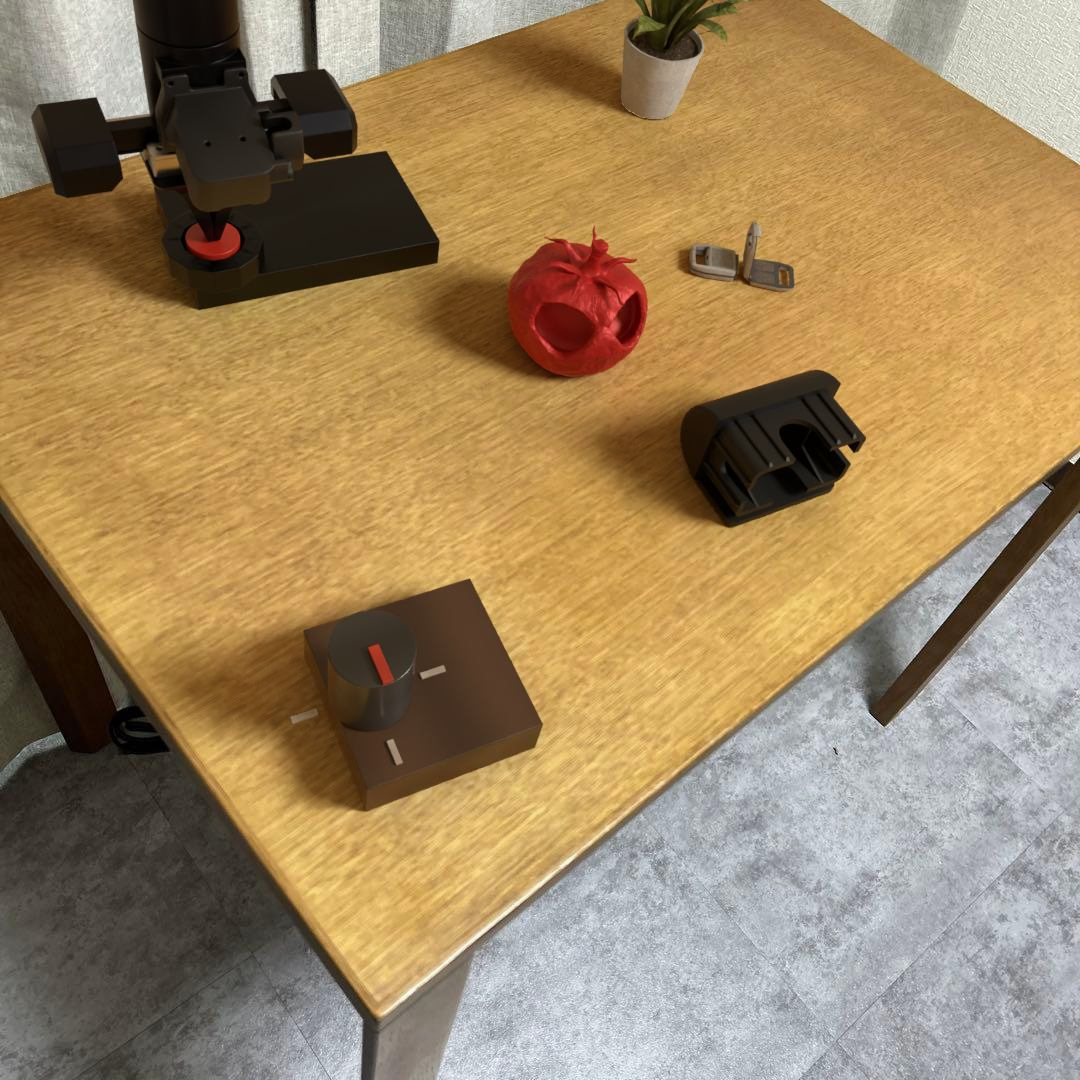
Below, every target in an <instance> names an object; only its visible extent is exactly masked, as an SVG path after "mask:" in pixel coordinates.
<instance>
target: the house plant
mask: <svg viewBox="0 0 1080 1080" xmlns="http://www.w3.org/2000/svg"><path fill="white" fill-rule="evenodd" d="M634 1H635V2H636V4H637V5H638V6H639V8H640V10H641V12H642V14H640V15H638V17H636V18H633V19H631V20H630V21H629V22H628V23H627V24H626V26H625V27H624V30H623V34H624V35H623V50H622V69H621V70H622V71H621V87H620V88H621V89H620V93H621V94H620V101H621V100H622V102H621V104H622V103H623V104H624V106H625V107H626V108H627V109H628V110H630V111H631V112H634V113H635V114H637V115H639V116H641V117H645V118H653V119H658V118H659V119H660V118H665V117H668V116H670V115H672V114H673V113H674V114H675V113H676V110H677V108H678V106H679V104H680V102H681V100H682V98H683V95H684V94H685V91H686V89H687V87H688V85H689V83H690V81H691V78H692V76H693V75H694V72H695V71H696V69H697V66H698V64H699V62H700V60H701V58H702V55H703V54H704V51H705V42H704V40H703V38H702V36H701V35H702V34H704V33H712V34H714V35H716V36H717V37H718V38H719V39H721V40H722V41H723V43H724V44H725V46H726V48H728V34H727V32H726V29H725V28H724V27H723V26H722V25H721V24H720V23H719V22H716V21H714V20H711V18H716V17H720V16H727V15H732V14H740V15H742V14H743V13H742V12H741V11H740V9H738V8H737V7H736V6H735V4H736V5H737V6H739V5H738V4H739V3H745V2H746V3H750V2H751V3H752V2H755V0H724V1H722V2H715V1H714V0H650V5H651V6H650V9H651V12H650V11H649V8H648V5H647V2H646V0H634ZM708 1H709V2H711V3H713V4H711V5H708V6H706V7H703V6H705V4H707V2H708ZM702 7H703V8H702ZM701 8H702V9H701ZM700 9H701V10H700ZM699 25H701V26H703V27H705V28H707V29H708V30H706V32H700V33H698V31H697V30H695V29H696V28H697V27H698V26H699ZM624 106H623V107H624ZM674 114H673V115H674ZM673 115H672V116H673Z"/></svg>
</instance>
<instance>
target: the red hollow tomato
mask: <svg viewBox="0 0 1080 1080" xmlns="http://www.w3.org/2000/svg"><path fill="white" fill-rule="evenodd" d="M597 237H598V236H597V233H596V225H593V228H592V240H591V244H590V246H589V245H586V244H584V243H580V242H569V241H568V240H567V239H565V238H550V237H547V236H544V238H545V239H547V240H548V241H550V242H548V243H545V244H543V245H541V246H540V247H539V248H537V250H536V251H535V253H533V254H532V255H531V256H530V257H528V258H526V259H525V260H524V261H523V262H522V263H521V264H520V266H519V268H517V270H515V272H514V273H513V275H512V276H511V278H510V280H509V283H508V287H507V292H506V295H507V298H506V302H507V303H506V304H507V312H508V318H509V323H510V328H511V330H512V333H513V335H514V338H515V339H516V341H517V342H518V344H519V345H520V347H521V348H522V349H523V350H524V351H525V352H526V354H527V355H528V356H529V357H530V358H531V359H532V360H533V362H534V363H536V364H537V365H539V366H540V368H543V369H544V370H547V371H548V372H550V373H554V374H556V375H560V376H561V375H562V376H564V377H568V378H569V377H586V376H593V375H596V374H599V373H604V372H606V371H608V370H611V369H612V368H615V366H616V365H617V364H619V363H620V362H621V361H623V360H624V359H626V358H627V357H628V356H629V355H630V354H631V353H632V351H633V350H634V349H636V346H637V345H638V343H639V340H640V338H641V337H642V335H643V333H644V330H645V327H646V321H647V314H648V308H649V307H648V305H649V300H648V296H647V290H646V287H645V285H644V283H643V281H642V279H641V278H640V277H638V275H636V274H635V273H634V272H633V270H631V268H629V267H627V265H625V264H634V263H636V262H637V261H638V258H634V259H632V258H627V257H625V256H618V257H614V256H612V255H611V254H609V253H608V250H609V246H610V245H609V243H608V242H607V241H605V240H604V239H603V238H598V239H597Z"/></svg>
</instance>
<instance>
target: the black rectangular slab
mask: <svg viewBox="0 0 1080 1080" xmlns="http://www.w3.org/2000/svg"><path fill="white" fill-rule="evenodd" d="M293 174H294V180H292V181H285V182H279V183H273V185H272V193H271V196H270V198H269V199H268V200H267V201H266V202H264V203H261V204H256V205H252V204H245V205H239V206H233V207H232V210H231V213H230V215H229V218H228V221H227V223H228V224H230V225H232V226H233V227H234V228H236V230H237V231H238V233H239V235H240V242H241V251H239V252H238V253H236V254H235V255H233V256H232V257H230V258H225V259H220V260H214V261H213V260H207V259H201V258H196V257H195V256H193V255H192V254H190V253H189V252H187V247H186V239H185V237H186V233H187V231H188V230H189V228H190V227H192V226H193V225H195V224H197V223H198V222H197V220H196V218H195V216H194V215H193V213H192V211H191V209H190V207H189V206H188V204H187V203H186V202H185V200H184V199H183V198H182V197H181V195H180V194H179V193H178V192H177V191H174V190H168V191H161V190H159V189H157V188H156V187H155V186H153V191H154V198H155V204H156V210H157V213H158V215H159V218H160V220H161V223H162V225H163V227H164V230H165V231H164V233H163V236H162V238H161V244H162V251H163V257H164V261H165V264H166V266H167V269H168V271H169V273H170V276H171V277H172V278H174V279H176V280H177V281H179V282H180V283H181V284H183V285H185V286H186V287H188V288H189V290H190V292H191V295H192V298H193V300H194V302H195V304H196V307H197V310H199V311H203V310H208V309H213V308H217V307H223V306H227V305H233V304H238V303H243V302H248V301H252V300H253V301H254V300H259V299H264V298H267V297H274V296H279V295H282V294H283V295H284V294H289V293H294V292H299V291H303V290H309V289H314V288H318V287H319V288H320V287H324V286H330V285H334V284H339V283H345V282H349V281H355V280H360V279H364V278H369V277H375V276H380V275H385V274H390V273H395V272H400V271H405V270H406V271H407V270H410V269H415V268H419V267H420V268H421V267H427V266H432V265H436V264H438V263H439V254H440V244H441V243H440V242H441V241H440V238H439V237H438V235H437V234H436V232H435V230H434V228H433V227H432V225H431V224H430V222H429V220H428V218H427V216H426V215H425V213H424V211H423V210H422V208H421V206H420V205H419V203H418V201H417V200H416V198H415V196H414V195H413V193H412V191H411V189H410V188H409V186H408V184H407V183H406V181H405V180H404V178H403V176H402V174H401V172H400V171H399V169H398V168H397V166H396V164H395V163H394V160H393V159H392V158H391V155H390V154H389V153H388V151H387V150H381V151H375V152H368V153H361V154H356V155H347V156H341V157H335V158H328V159H322V160H315V161H310V162H305V163H303V168H302V169H301V170H296V171H293Z"/></svg>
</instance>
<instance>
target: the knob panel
mask: <svg viewBox="0 0 1080 1080" xmlns="http://www.w3.org/2000/svg"><path fill="white" fill-rule="evenodd" d="M368 610H375V611H383V612H387V613H390V614H392V615H394V616H396V617H398V618H400V619H401V620H402V621H403V622H405V623H406V624H407V625H408V627H409V628H410V629H411V631H412V633H413V634H414V637H415V639H416V644H417V655H416V663H415V671H414V679H413V688H412V696H411V702H410V705H409V707H408V709H407V711H406V713H405V714H404V716H403V717H402V718H401V719H400V720H399V721H397V722H396V723H395V724H393V725H391V726H390V727H387V728H385V729H382V730H377V731H361V730H357V729H354V728H351V727H349V726H347V725H345V724H344V723H342V722H341V721H340V720H339V719H338V718H337V717H336V716H335V714H334V713H333V711H332V709H331V707H330V704H329V701H328V650H327V647H328V641H329V638H330V635H331V633H332V632H333V630H334V628H335V627H336V626H337V625H338V624H339V623H340V622H341V621H342V620H344V619H345V618H347V617H348V616H349V615H348V616H344V617H341V618H338V619H334V620H331V621H328V622H325V623H321V624H319V625H315V626H311V627H309V628H306V629H303V650H304V651H303V653H304V659H305V661H306V664H307V666H308V669H309V671H310V674H311V677H312V679H313V682H314V684H315V687H316V689H317V691H318V695H319V697H320V699H321V702H322V704H323V707H324V709H325V713H326V714H327V717H328V719H329V722H330V725H331V728H332V730H333V732H334V735H335V737H336V740H337V742H338V746H339V747H340V750H341V752H342V755H343V757H344V760H345V762H346V765H347V768H348V770H349V772H350V776H351V777H352V780H353V783H354V785H355V788H356V790H357V793H358V795H359V798H360V801H361V803H362V806H363V808H364V810H365V812H370V811H372V810H375V809H378V808H380V807H383V806H386V805H388V804H390V803H393V802H396V801H398V800H401V799H403V798H406V797H409V796H411V795H414V794H417V793H420V792H422V791H424V790H427V789H430V788H433V787H435V786H438V785H440V784H444V783H446V782H448V781H451V780H454V779H457V778H459V777H461V776H462V777H463V776H464V775H467V774H469V773H472V772H474V771H477V770H479V769H483V768H485V767H488V766H490V765H491V766H492V765H493V764H496V763H498V762H501V761H503V760H507V759H509V758H511V757H514V756H516V755H519V754H523V753H525V752H527V751H530V750H532V749H535V748H536V746H537V743H538V741H539V737H540V735H541V732H542V729H543V726H544V723H543V721H542V719H541V717H540V715H539V713H538V711H537V708H536V707H535V705H534V703H533V701H532V699H531V697H530V695H529V693H528V691H527V689H526V687H525V685H524V683H523V681H522V679H521V677H520V676H519V673H518V671H517V669H516V668H515V667H516V666H515V665H514V663H513V661H512V659H511V657H510V655H509V653H508V651H507V649H506V647H505V645H504V643H503V641H502V639H501V637H500V635H499V634H498V631H497V629H496V627H495V625H494V623H493V621H492V619H491V618H490V615H489V613H488V611H487V609H486V607H485V604H484V603H483V601H482V599H481V597H480V595H479V593H478V592H477V590H476V587H475V585H474V583H473V581H472V579H471V578H470V577H469V578H466V579H462V580H460V581H456V582H453V583H449V584H446V585H444V586H440V587H437V588H434V589H430V590H427V591H424V592H421V593H418V594H415V595H411V596H409V597H405V598H401V599H399V600H395V601H392V602H389V603H386V604H383V605H379V606H377V607H373V608H369V609H367V610H365V611H368ZM317 716H319V712H318V709H317V708H312V709H310V710H307V711H303V712H301V713H298V714H295V715H292V716H290V717H289V718H290V721H291V724H293V725H294V724H297V723H299V722H303V721H306V720H308V719H312V718H314V717H317Z"/></svg>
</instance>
